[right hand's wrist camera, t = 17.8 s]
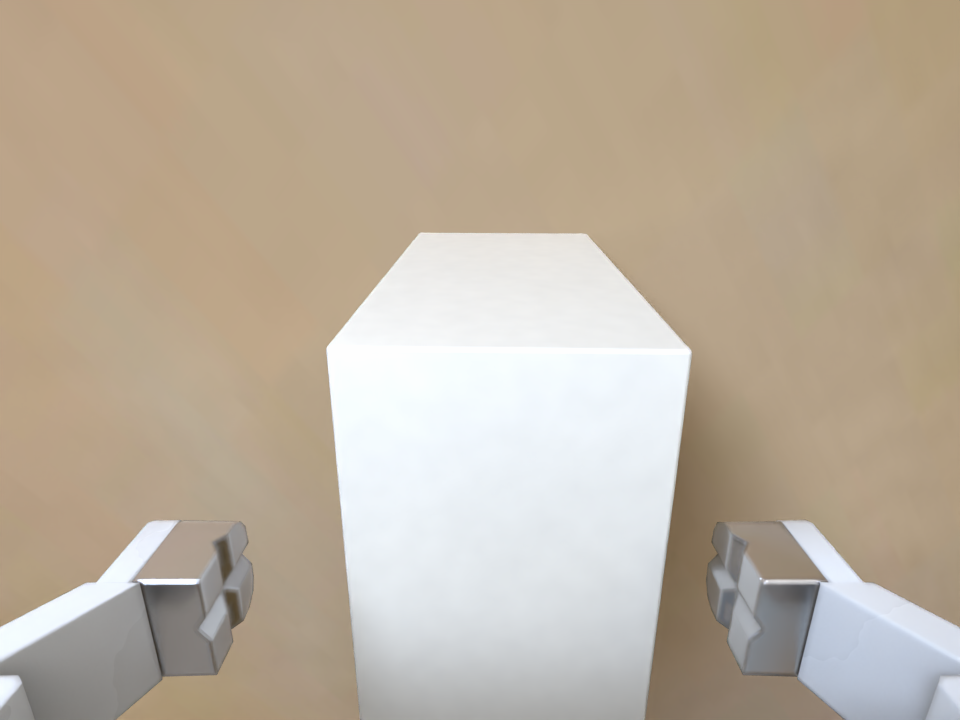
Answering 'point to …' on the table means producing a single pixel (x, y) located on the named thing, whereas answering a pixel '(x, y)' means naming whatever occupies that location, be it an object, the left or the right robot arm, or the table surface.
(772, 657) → the right robot arm
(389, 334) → the box
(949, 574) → the table surface
